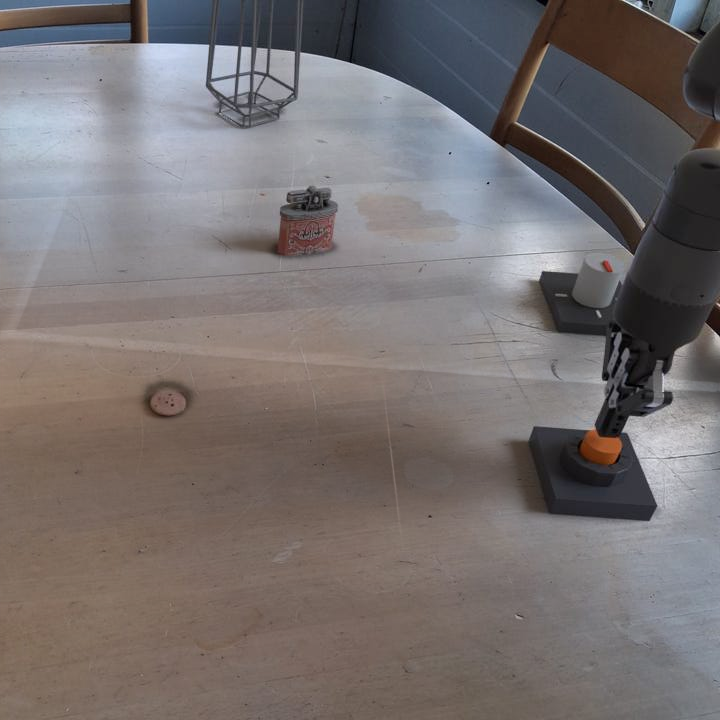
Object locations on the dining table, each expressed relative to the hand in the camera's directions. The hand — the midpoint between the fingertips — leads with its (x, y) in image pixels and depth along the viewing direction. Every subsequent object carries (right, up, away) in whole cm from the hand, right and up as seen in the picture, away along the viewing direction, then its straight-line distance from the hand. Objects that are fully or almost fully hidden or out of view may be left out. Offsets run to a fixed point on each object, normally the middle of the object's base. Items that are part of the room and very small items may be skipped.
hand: (605, 432), depth 89 cm
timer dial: (+8, +18, +25) cm, 32 cm away
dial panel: (+8, +16, +27) cm, 32 cm away
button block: (0, -5, +4) cm, 6 cm away
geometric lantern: (-34, +58, +68) cm, 96 cm away
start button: (0, -2, +2) cm, 3 cm away
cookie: (-44, +3, +9) cm, 45 cm away
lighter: (-27, +25, +34) cm, 51 cm away
